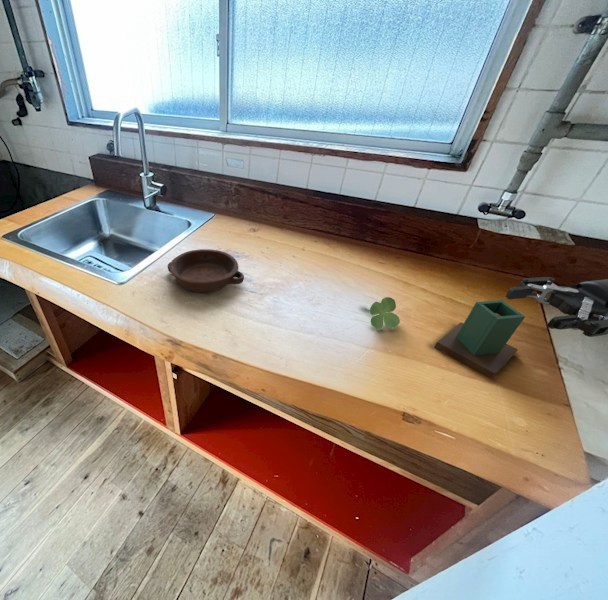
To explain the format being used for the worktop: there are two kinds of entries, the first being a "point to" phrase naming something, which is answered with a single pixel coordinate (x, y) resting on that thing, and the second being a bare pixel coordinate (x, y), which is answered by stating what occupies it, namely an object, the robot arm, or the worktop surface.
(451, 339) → the brown peg stand
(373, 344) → the worktop surface
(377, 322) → the green leafy piece
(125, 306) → the worktop surface
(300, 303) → the worktop surface
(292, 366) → the worktop surface
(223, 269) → the dish
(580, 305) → the robot arm
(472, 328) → the sleeve
